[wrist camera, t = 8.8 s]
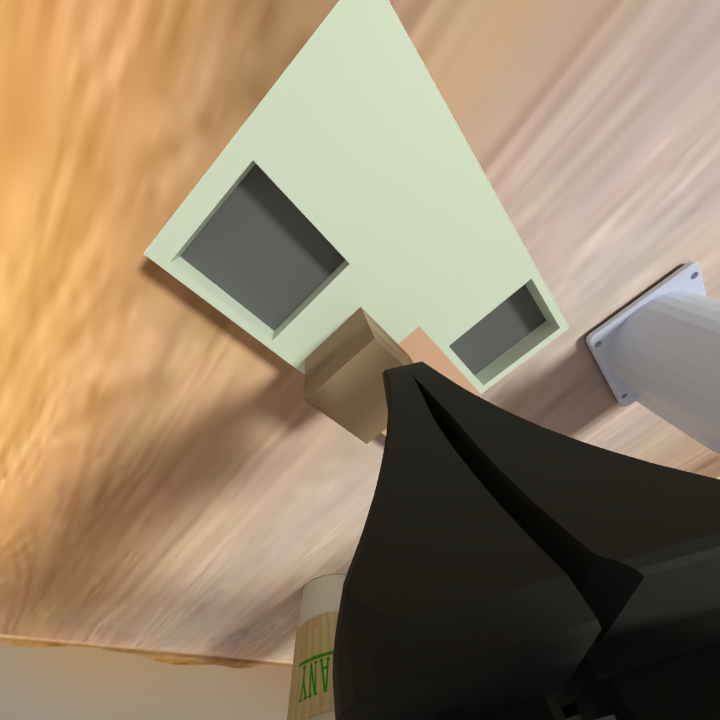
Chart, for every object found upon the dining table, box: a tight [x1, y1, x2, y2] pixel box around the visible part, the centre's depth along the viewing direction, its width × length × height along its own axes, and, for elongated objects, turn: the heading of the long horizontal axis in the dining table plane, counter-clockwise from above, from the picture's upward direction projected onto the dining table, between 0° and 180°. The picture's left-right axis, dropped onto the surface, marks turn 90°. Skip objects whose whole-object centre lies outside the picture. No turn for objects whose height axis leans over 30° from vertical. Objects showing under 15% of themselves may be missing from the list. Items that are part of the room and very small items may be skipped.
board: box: [143, 0, 570, 436], centre depth 18 cm, size 20×14×2 cm
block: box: [305, 307, 413, 444], centre depth 17 cm, size 4×4×4 cm
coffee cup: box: [287, 574, 346, 720], centre depth 28 cm, size 10×10×15 cm
